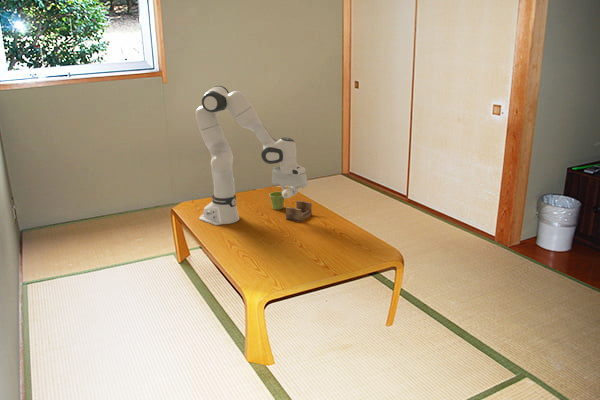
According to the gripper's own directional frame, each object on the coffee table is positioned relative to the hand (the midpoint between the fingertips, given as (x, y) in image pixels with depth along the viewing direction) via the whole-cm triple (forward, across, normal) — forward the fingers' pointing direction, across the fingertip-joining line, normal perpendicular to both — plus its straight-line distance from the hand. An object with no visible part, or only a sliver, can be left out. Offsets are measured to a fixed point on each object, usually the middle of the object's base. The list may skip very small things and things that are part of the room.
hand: (289, 193), depth 282 cm
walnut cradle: (+16, +1, +7) cm, 17 cm away
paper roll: (+2, 0, 0) cm, 2 cm away
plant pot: (+16, -17, +14) cm, 27 cm away
